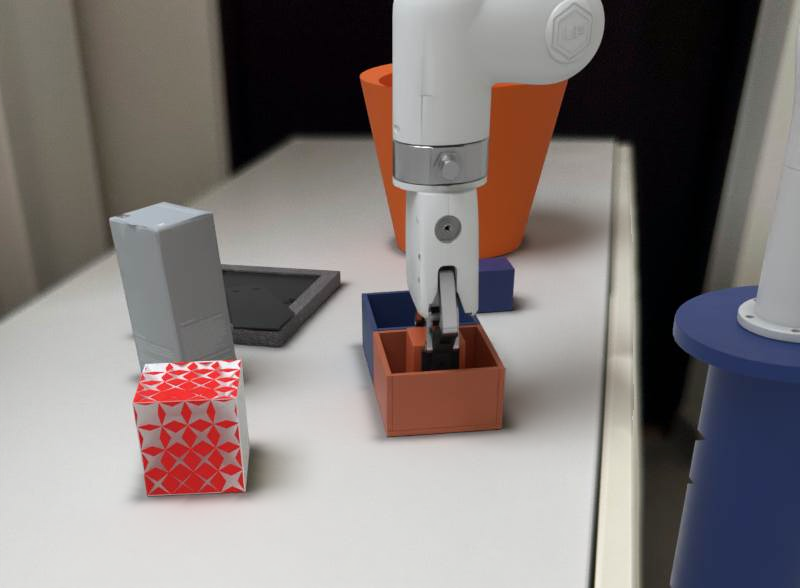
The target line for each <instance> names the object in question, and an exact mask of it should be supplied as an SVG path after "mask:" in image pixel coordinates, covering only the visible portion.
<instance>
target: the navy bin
mask: <svg viewBox="0 0 800 588" xmlns="http://www.w3.org/2000/svg"><path fill="white" fill-rule="evenodd" d="M414 315H415V304H414V302H413V299H412V297H411V294H410V292H409V289H407V290H393V291H392V290H391V291H390V290H389V291H380V292H379V291H378V292H363V293H361V333H362V334H361V335H362V338H361V339H362V350H363V353H364V357H365V362H366V364H367V368H368V372H369V375H370V379H371V383H372V386H373V388H374V367H373V331H378V332H379V331H388V330H403V329H407V328H412V327H415V322H414ZM479 324H481V325H482V323H481V322H480V320H479V318H478V316H477V313H476V314H475V315H473V316H469V315H468V313H465V312H464V310H463V308H462V306H461V304H460V302H459V326H464V325H479Z"/></svg>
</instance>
